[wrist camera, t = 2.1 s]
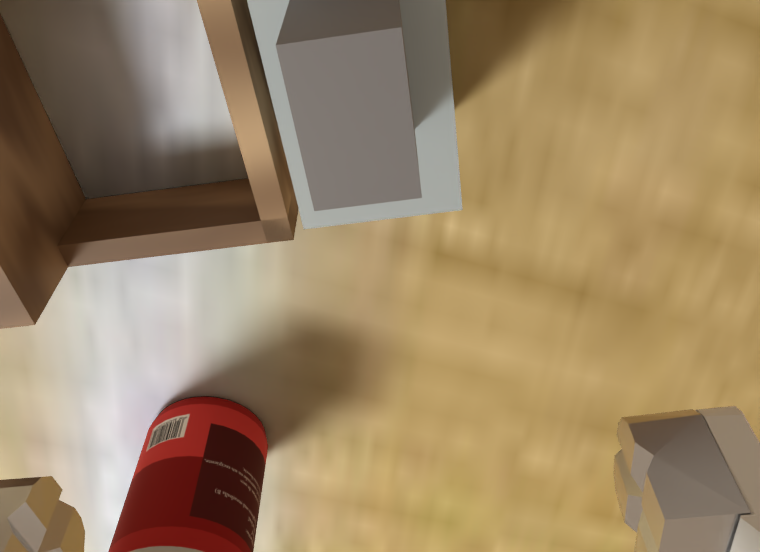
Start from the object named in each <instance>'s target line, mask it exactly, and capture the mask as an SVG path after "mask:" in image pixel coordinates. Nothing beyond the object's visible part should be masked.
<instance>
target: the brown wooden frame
mask: <svg viewBox="0 0 760 552" xmlns="http://www.w3.org/2000/svg"><path fill="white" fill-rule="evenodd" d="M197 2H198V6H199V9H200V13H201V16H202V20H203V23H204V27H205V30H206V33H207V37H208V40H209V44H210V47H211V51H212V54H213V57H214V61H215V64H216V68H217V71H218V75H219V78H220V82H221V85H222V88H223V92H224V95H225V99H226V102H227V106H228V109H229V113H230V116H231V119H232V123H233V126H234V130H235V133H236V137H237V140H238V144H239V147H240V150H241V154H242V157H243V161H244V164H245V168H246V171H247V175H248V179H240V180H232V181H224V182H216V183H209V184H201V185H193V186H185V187H178V188H170V189H162V190H154V191H146V192H139V193H131V194H123V195H115V196H107V197H100V198H92V199H85V196H84V194H83V192H82V190H81V188H80V186H79V183H78V181H77V179H76V177H75V175H74V173H73V170H72V168H71V166H70V164H69V162H68V160H67V157H66V155H65V153H64V151H63V149H62V147H61V144H60V142H59V140H58V138H57V136H56V134H55V131H54V129H53V127H52V125H51V123H50V121H49V118H48V116H47V114H46V112H45V110H44V108H43V105H42V103H41V101H40V99H39V97H38V95H37V92H36V90H35V88H34V86H33V84H32V82H31V80H30V77H29V75H28V73H27V71H26V69H25V67H24V64H23V62H22V60H21V58H20V56H19V54H18V51H17V49H16V47H15V45H14V43H13V41H12V38H11V36H10V34H9V32H8V30H7V28H6V25H5V23H4V21H3V19H2V17H1V15H0V329H2V328H11V327H20V326H29V325H35V324H36V322H37V320H38V319H39V317H40V315H41V313H42V312H43V310H44V308H45V306H46V305H47V303H48V301H49V299H50V298H51V296H52V294H53V292H54V291H55V289H56V287H57V285H58V284H59V282H60V280H61V278H62V277H63V275H64V273H65V271H66V270H67V268H68V267H72V266H80V265H88V264H96V263H105V262H113V261H121V260H130V259H138V258H146V257H154V256H163V255H171V254H179V253H188V252H196V251H204V250H212V249H221V248H229V247H237V246H246V245H254V244H262V243H270V242H279V241H287V240H294V233H295V227H296V221H297V214H298V204H297V200H296V196H295V192H294V188H293V184H292V180H291V176H290V172H289V168H288V164H287V160H286V156H285V152H284V148H283V144H282V140H281V136H280V132H279V128H278V123H277V119H276V115H275V111H274V107H273V103H272V99H271V95H270V91H269V87H268V83H267V79H266V75H265V71H264V67H263V63H262V59H261V55H260V51H259V47H258V43H257V39H256V35H255V31H254V27H253V23H252V19H251V15H250V11H249V7H248V3H247V0H197Z"/></svg>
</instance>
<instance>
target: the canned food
mask: <svg viewBox="0 0 760 552" xmlns="http://www.w3.org/2000/svg"><path fill="white" fill-rule="evenodd" d="M267 449H268V444H267V438H266V434H265V429H264V427H263V425H262V423H261V421H260V420H259V419H258V418H257V416H256V415H255V414H253V413H252V412H251V411H250V410H248V409H247V408H245V407H243V406H241V405H240V404H237V403H235V402H232V401H229V400H226V399H221V398H215V397H193V398H188V399H183V400H181V401H178V402H175V403H173V404H171V405H170V406H168V407H166V408H165V409H164V410H163V411H162V412H161V413H160V414H159V415H158V416H157V418H156V419H155V420H154V422H153V423H152V425H151V426H150V428H149V430H148V433H147V436H146V439H145V442H144V445H143V448H142V451H141V454H140V457H139V461H138V464H137V467H136V470H135V473H134V476H133V479H132V482H131V485H130V488H129V491H128V494H127V497H126V500H125V503H124V506H123V509H122V512H121V515H120V518H119V521H118V524H117V528H116V531H115V534H114V537H113V540H112V543H111V546H110V549H109V552H253V549H254V542H255V535H256V528H257V521H258V513H259V506H260V499H261V492H262V485H263V478H264V471H265V464H266V457H267Z"/></svg>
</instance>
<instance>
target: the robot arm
mask: <svg viewBox="0 0 760 552" xmlns="http://www.w3.org/2000/svg"><path fill="white" fill-rule="evenodd" d="M617 437H618V440H619V443H620V446H621V448H622V449H621V450H620V451H619V452H618V453H617V454H616V455H615V458H614V480H615V489H616V494H617V498H618V502H619V506H620V510H621V513H622V516H623V519H624V522H625V523H626V524H627V525H628V526H630V527H631V528H632V529H633V530H634V531H636V532H637V536H636V543H635V550H634V552H760V443H759V441H758V439H757V437H756V435H755V434H754V432H753V430H752V428H751V427H750V425H749V423H748V421H747V420H746V418H745V416H744V414H743V412H742V411H741V410H739V409H738V408H737V407H736V406H728V407H718V408H709V409H699V410H693V409H691V410H682V411H673V412H665V413H656V414H647V415H638V416H630V417H622V418H621V419H620V421H619V423H618V430H617ZM61 492H62V489H61V487H60V486H59V485H58V484H57V482H56V481H55V480H54V478H53V477H52V476H49V477H35V478H22V479H8V480H0V552H84V540H85V530H84V527H83V523H82V519H81V517H80V515H79V514H78V512H77V511H76V509H75V508H74V507H72V506H70V505H68V504H66V503H64V502H62V501H60V500H59V497H60V494H61Z"/></svg>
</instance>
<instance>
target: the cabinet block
mask: <svg viewBox="0 0 760 552" xmlns="http://www.w3.org/2000/svg"><path fill="white" fill-rule="evenodd" d="M247 3H248V7H249V11H250V15H251V19H252V23H253V27H254V31H255V35H256V39H257V43H258V47H259V51H260V55H261V59H262V63H263V67H264V71H265V75H266V79H267V83H268V87H269V91H270V95H271V99H272V103H273V107H274V111H275V115H276V119H277V123H278V128H279V132H280V136H281V140H282V144H283V148H284V152H285V156H286V160H287V164H288V168H289V172H290V176H291V180H292V184H293V188H294V192H295V196H296V200H297V204H298V208H299V212H300V216H301V220H302V224H303V228H304V229H310V228H319V227H327V226H335V225H343V224H351V223H360V222H368V221H376V220H384V219H392V218H401V217H409V216H417V215H425V214H433V213H442V212H450V211H458V210H462V199H461V186H460V174H459V161H458V149H457V136H456V124H455V111H454V99H453V86H452V74H451V62H450V49H449V37H448V24H447V12H446V0H247Z"/></svg>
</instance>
